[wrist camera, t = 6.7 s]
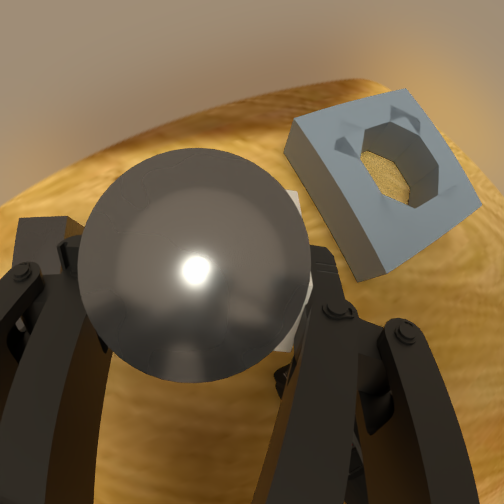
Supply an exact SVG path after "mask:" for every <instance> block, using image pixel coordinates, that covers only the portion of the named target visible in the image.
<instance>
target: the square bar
mask: <svg viewBox="0 0 504 504" xmlns="http://www.w3.org/2000/svg"><path fill="white" fill-rule="evenodd" d="M84 228H85V227H83V226H82V225H80V224H79V223H77V222H76V221H74V220H73V219H71V218H70V217H68V216H55V217H31V218H19V222H18V228H17V233H16V240H15V246H14V253H13V262H12V268H13V267H14V266H16V265H18V264H20V263H22V262H28V261H29V262H35V263H37V264H38V265H39V267H40V269H41V272H42V275H50V274H61V272H62V267H61V263H60V259H59V255H58V251H57V247H56V246H57V245H58V244H59V243H60V242H61V241H63V240H64V239H66V238H68V237H71V236H75V235H82V234H83V231H84ZM15 324H16V326H17V328H18V330H21V329H22V328H23V327H24V324H23V322H22V320H21V318H19V319H18V321H17V322H16V323H15Z"/></svg>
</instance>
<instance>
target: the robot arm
mask: <svg viewBox="0 0 504 504" xmlns="http://www.w3.org/2000/svg"><path fill="white" fill-rule="evenodd" d="M285 190H286V189H285ZM286 191H287V193H288V194H289V196H290V197H291V199H292V200H293V202H294V203H295V205H296V207H297V209H298V211H299V213H300V215H301V209H300V204H299V198H298V193H297V191H292V190H286ZM301 217H302V215H301ZM81 238H82V235H75V236H71V237H68V238H66V239H64V240H63V241H61V242H60V243H59V244H58V245H57V246H56V247H57V251H58V255H59V259H60V263H61V267H62V272H61V274H50V275H42V272H41V269H40V267H39V265H38V264H37V263H35V262H29V261H28V262H22V263H20V264H18V265H16V266H14V267H13V268H12V269H10V270H9V271H8V272H7V273H6V274H5V275H4V276H3V277H2V278H1V279H0V504H94V482H95V468H96V456H97V446H98V437H99V429H100V421H101V414H102V408H103V401H104V395H105V389H106V383H107V378H108V372H109V367H110V362H111V357H112V352H113V351H112V350H111V349H110V348H109V347H108V346H107V345H106V343H105V342H104V341H103V340H102V339H101V337H100V336H99V335H98V333H97V331H96V330H95V328H94V327H93V325H92V323H91V321H90V319H89V317H88V315H87V313H86V310H85V308H84V304H83V301H82V298H81V294H80V289H79V282H78V253H79V247H80V242H81ZM310 253H311V272H310V282H309V287H308V291H307V295H306V299H305V301H304V304H303V307H302V309H301V312H300V314H299V316H298V318H297V320H296V322H295V323H294V325H293V327H292V328H291V330H290V331H289V333H288V334H287V335H286V337H285V338H284V339H283V341H282V342H281V343H280V344H279V345H278V346H277V347H276V348H275V349H274V350H273V351H282V352H291V349H292V346H293V344H294V356H293V359H292V361H291V364H290V366H289V369H288V372H287V374H286V377H287V381H286V385H285V389H284V392H283V396H282V400H281V404H280V408H279V412H278V415H277V419H276V423H275V426H274V430H273V434H272V437H271V441H270V444H269V448H268V451H267V454H266V458H265V461H264V464H263V468H262V471H261V474H260V477H259V481H258V484H257V487H256V490H255V493H254V496H253V499H252V502H251V504H343V503H344V498H345V492H346V486H347V479H348V473H349V465H350V458H351V450H352V441H353V431H354V420H355V415H356V421H357V426H358V432H359V438H360V444H361V451H362V457H363V464H364V471H365V479H366V486H367V494H368V503H369V504H480V503H479V498H478V493H477V488H476V484H475V480H474V475H473V471H472V467H471V464H470V460H469V456H468V453H467V449H466V446H465V442H464V439H463V436H462V432H461V429H460V426H459V423H458V420H457V417H456V414H455V411H454V408H453V406H452V403H451V400H450V397H449V395H448V392H447V389H446V387H445V384H444V381H443V379H442V376H441V374H440V371H439V369H438V366H437V364H436V362H435V359H434V357H433V355H432V352H431V350H430V348H429V345H428V343H427V341H426V339H425V336H424V334H423V333H422V331H421V330H420V328H418V327H417V326H416V325H415V324H414V323H412V322H410V321H408V320H406V319H401V318H394V319H391V320H389V321H388V322H387V323H386V324H385V326H384V328H383V327H381V326H378V325H375V324H372V323H369V322H366V321H364V320H362V319H360V318H359V317H358V313H357V310H356V309H355V307H354V306H353V305H352V304H351V303H350V302H348V301H347V300H346V299H345V297H344V293H343V289H342V285H341V281H340V278H339V274H338V270H337V267H336V263H335V259H334V256H333V255H332V254H331V252H330V251H329V250H328V249H327V248H326V247H320V246H314V245H310ZM19 318H21V320H22V322H23V324H24V327H23V328H22V329H21V330H18V328H17V326H16V324H15V323H16V322H17V321H18V319H19Z"/></svg>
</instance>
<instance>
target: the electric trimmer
mask: <svg viewBox="0 0 504 504" xmlns="http://www.w3.org/2000/svg"><path fill="white" fill-rule="evenodd" d="M290 364H291V363H290ZM290 364H288V365H286V366H284V367H282V368H280V369H278V370H277V371H276V372H275V373H274V378H275V380H276V382H277V383H276V389H277V392H278V395H279V397H280V398H281V400H282V396H283V392H284V389H285V385H286V381H287V377H286V374H287V372H288V369H289V366H290ZM344 501H345V502H346V504H369V503H368V494H367V486H366V479H365V471H364V464H363V457H362V451H361V444H360V438H359V432H358V426H357V421H356V415H355V420H354V431H353V441H352V450H351V458H350V465H349V473H348V479H347V486H346V492H345V498H344Z"/></svg>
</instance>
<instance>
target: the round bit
mask: <svg viewBox="0 0 504 504" xmlns="http://www.w3.org/2000/svg"><path fill="white" fill-rule="evenodd" d="M310 272H311V253H310V245H309V239H308V234H307V231H306V228H305V225H304V222H303V219H302V217H301V215H300V213H299V211H298V209H297V207H296V205H295V203H294V202H293V200H292V199H291V197H290V196H289V194H288V193H287V191H286V190H285V189H284V188H283V187H282V186H281V185H280V183H279V182H278V181H277V180H276V179H274V178H273V177H272V176H271V175H270V174H269V173H268V172H266V171H265V170H263V169H262V168H260V167H259V166H257V165H256V164H254V163H253V162H251V161H249V160H247V159H244V158H242V157H240V156H237V155H234V154H231V153H229V152H224V151H220V150H215V149H205V148H187V149H179V150H173V151H169V152H165V153H162V154H158V155H156V156H153V157H151V158H149V159H146V160H144V161H142V162H141V163H139V164H137V165H135V166H134V167H132V168H130V169H129V170H128V171H126V172H125V173H124V174H122V175H121V176H120V177H119V178H118V179H117V180H116V181H115V182H114V183H113V184H111V185H110V186H109V188H108V189H107V190H106V191H105V192H104V194H103V195H102V196H101V197H100V199H99V200H98V202H97V204H96V205H95V207H94V208H93V210H92V212H91V214H90V216H89V218H88V220H87V222H86V225H85V228H84V231H83V234H82V238H81V242H80V247H79V253H78V282H79V289H80V294H81V298H82V301H83V304H84V308H85V310H86V313H87V315H88V317H89V319H90V321H91V323H92V325H93V327H94V328H95V330H96V331H97V333H98V335H99V336H100V337H101V339H102V340H103V341H104V342H105V343H106V345H107V346H108V347H109V348H110V349H111V350H112V351H113V352H114V353H115V354H116V355H118V356H119V357H120V358H121V359H122V360H124V361H125V362H127V363H128V364H130V365H131V366H132V367H134V368H136V369H138V370H140V371H142V372H144V373H146V374H148V375H151V376H154V377H157V378H160V379H163V380H168V381H174V382H181V383H202V382H211V381H216V380H220V379H224V378H228V377H230V376H233V375H235V374H238V373H240V372H243V371H245V370H246V369H248V368H250V367H252V366H253V365H255V364H257V363H258V362H260V361H261V360H262V359H263V358H265V357H266V356H267V355H269V354H270V353H271V352H272V351H273V350H274V349H275V348H276V347H277V346H278V345H279V344H280V343H281V342H282V341H283V339H284V338H285V337H286V335H287V334H288V333H289V331H290V330H291V328H292V327H293V325H294V323H295V322H296V320H297V318H298V316H299V314H300V312H301V309H302V307H303V304H304V301H305V299H306V295H307V291H308V287H309V282H310Z"/></svg>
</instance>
